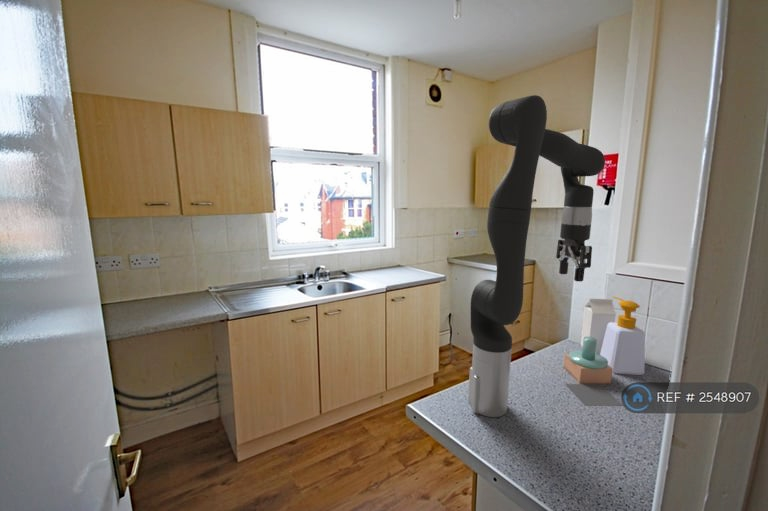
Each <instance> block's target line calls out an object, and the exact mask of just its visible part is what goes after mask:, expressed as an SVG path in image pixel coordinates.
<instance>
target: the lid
mask: <svg viewBox="0 0 768 511" xmlns="http://www.w3.org/2000/svg"><path fill="white" fill-rule="evenodd" d="M596 345H597V339H595V338H593V337H584V339H583V347H581V348H582V349H575V350H571V351H569V353H568V354H569V359H570V360H571V361H572V362H573V363H575V364H577V365H579V366H582V367H585V368H590V369H604V368H606V367H607V366H608V361H607V359H606V358H604V357H603V356H601V355H599V354H596Z"/></svg>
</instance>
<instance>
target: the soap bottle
mask: <svg viewBox="0 0 768 511" xmlns="http://www.w3.org/2000/svg"><path fill="white" fill-rule="evenodd" d="M612 298H613V299H617V300H619V302H618V305H619V306H620V310H622V311H624V314H620V315H618V316H617V322H615V323H614V322H610V323H608V325H607V329H606V333H605V337H604V341H603V345H602V349H601V353H600V355H601V356H603V357H604V358H606V359H607V361H608V365H609V366H610V367H611V368H613V369H612V374H619V375H633V376H634V375H636V376H643V375H644V374H645V359H646V358H645V354H646V352H645V351H646V334H645V333H646V332H645V331H644V330H643V329H641V328H640V327H638V326H637V325H636V323H637V318H636V317H634V316H631V315H632V313H635V312H636V311H637V309H639V308H640V307H641V306H640V305H639V304H638V303H637V302H635V301H632V300H625V299H622V298H620V297H618V296H612Z"/></svg>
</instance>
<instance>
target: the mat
mask: <svg viewBox="0 0 768 511" xmlns="http://www.w3.org/2000/svg"><path fill="white" fill-rule="evenodd" d="M564 385H565V386H566V387H567V388H568V389H569V390H570V391H571V392H572V394H573V395H574V396H575V397H576V398H577V399H578V400H579V401H580V402H581V403H582V404H583V405H584V406H595V407H596V406H599V407H600V406H601V407H602V406H612V407H613V406H615V407H617V406H620V407H621V406H624V404H622V402H620V400H618V399H617V398H616V397H615V396H614V395H613V394H611V393H610V392H609V391H608V390H607V389H606V388H605V387H604V386H603V385H601V383H564Z"/></svg>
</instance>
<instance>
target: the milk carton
mask: <svg viewBox="0 0 768 511" xmlns="http://www.w3.org/2000/svg"><path fill="white" fill-rule="evenodd" d="M588 299H589V300H588V302H587V303H586V304H585V305H584V309H583V310H584V311H583V320H582V328H581V336H580V337H581V338H580V346H581V348H583V339H584V337H593V338H595V339H597V345H596V354H599V355H600V353H601V349H602V345H603V341H604V337H605V333H606V329H607V325H608V323H610V322H614V323H616V318H617V317H616V316H617V313H616V311H615V307H614V304H613V299H611V298H610V299H608V298H591V297H590V298H588Z"/></svg>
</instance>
